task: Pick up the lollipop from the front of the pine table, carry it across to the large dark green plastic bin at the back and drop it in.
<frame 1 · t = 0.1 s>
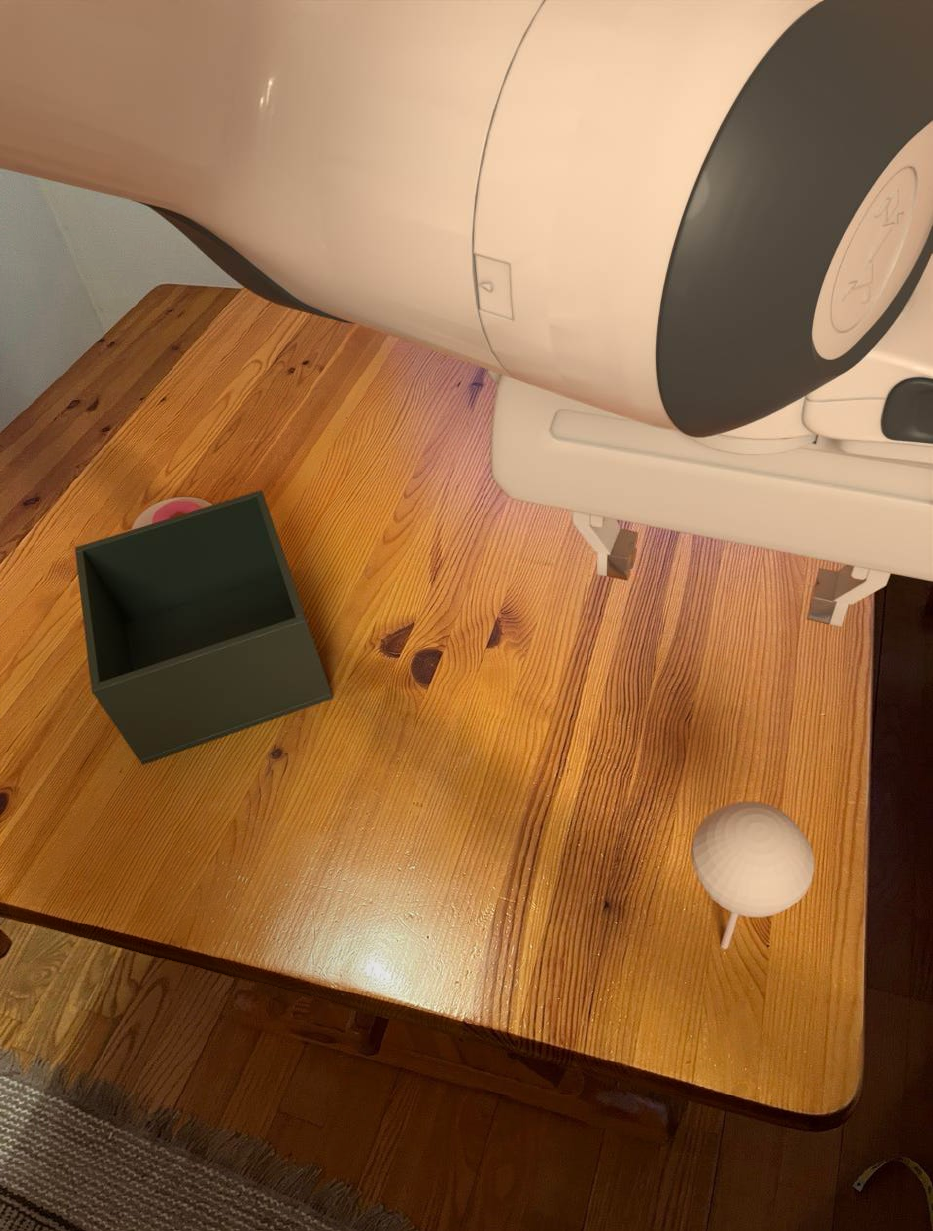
hand: (717, 590, 42), 26 cm above the table, tool pointing down, fingers open, 8 cm apart
bin: (221, 660, 77), on the table
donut: (165, 539, 87), on the table
lollipop: (724, 946, 58), on the table
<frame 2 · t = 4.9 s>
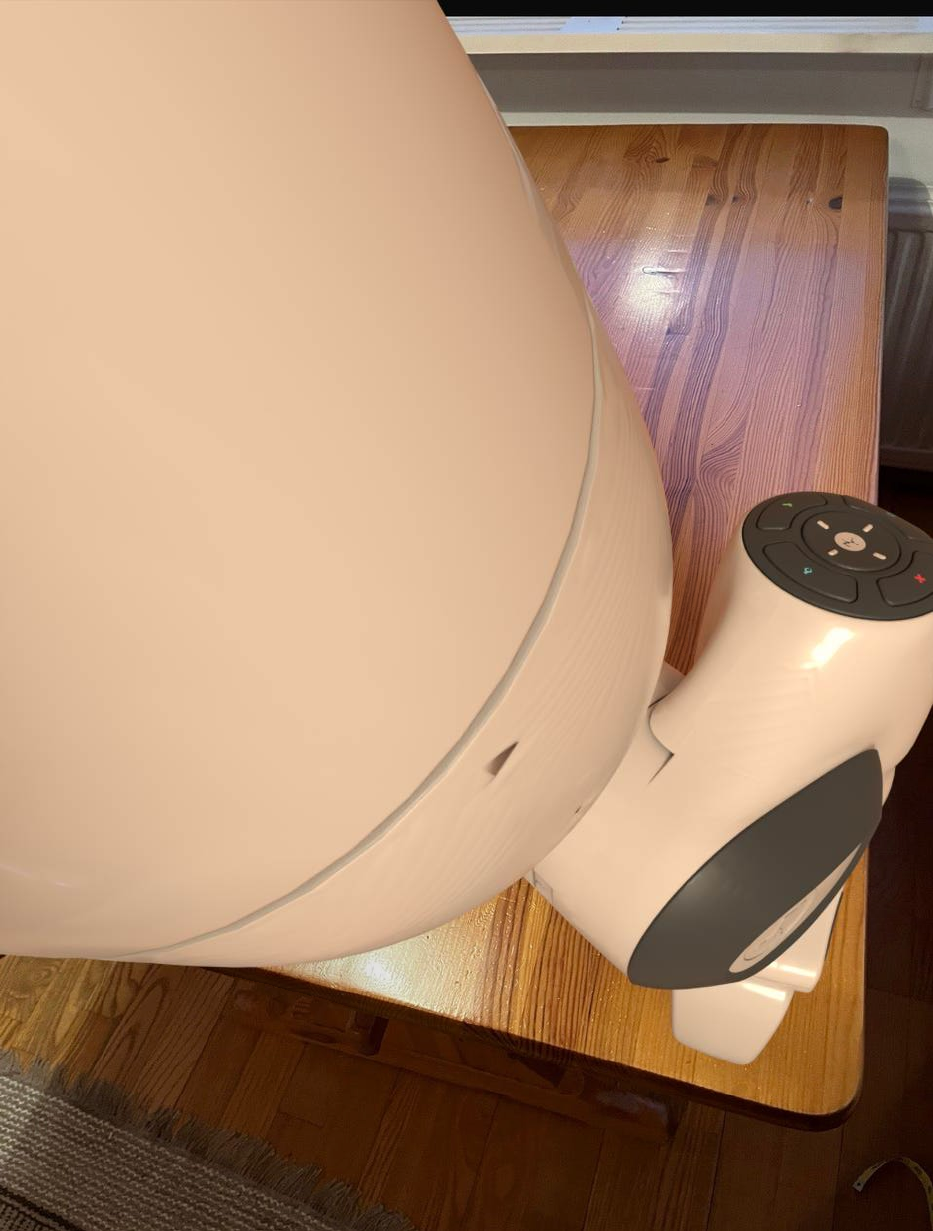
hand: (736, 906, 53), 6 cm above the table, tool pointing down, fingers closed on lollipop, 5 cm apart
lollipop: (724, 946, 58), on the table, touching gripper
everything else where it was.
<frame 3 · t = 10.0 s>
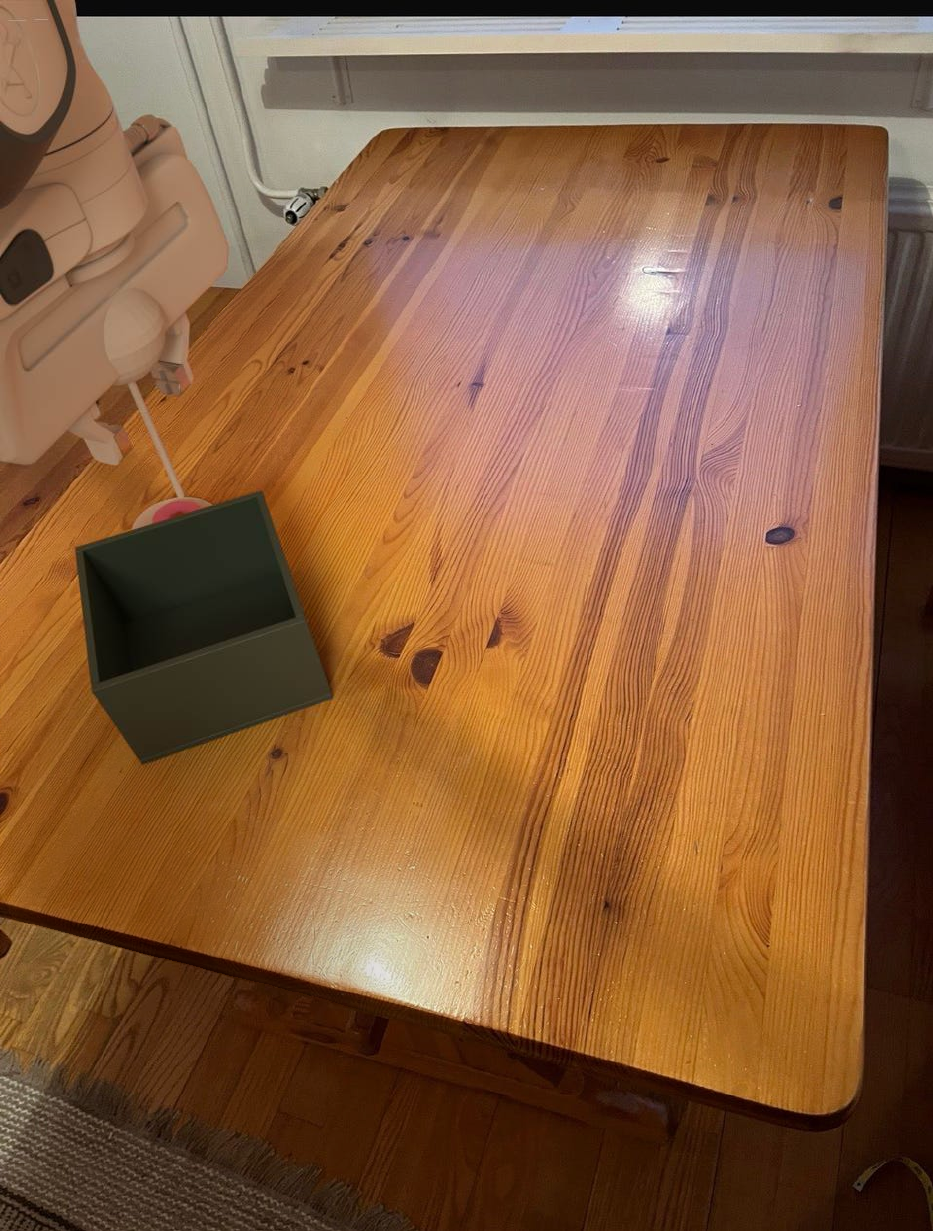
hand: (147, 421, 55), 26 cm above the table, tool pointing down, fingers closed on lollipop, 5 cm apart
lollipop: (182, 497, 60), point 20 cm above the table, touching gripper
everything else where it was.
when the fingers open (7 cm above the table, at t = 15.3 s): lollipop stays where it is, resting on bin.
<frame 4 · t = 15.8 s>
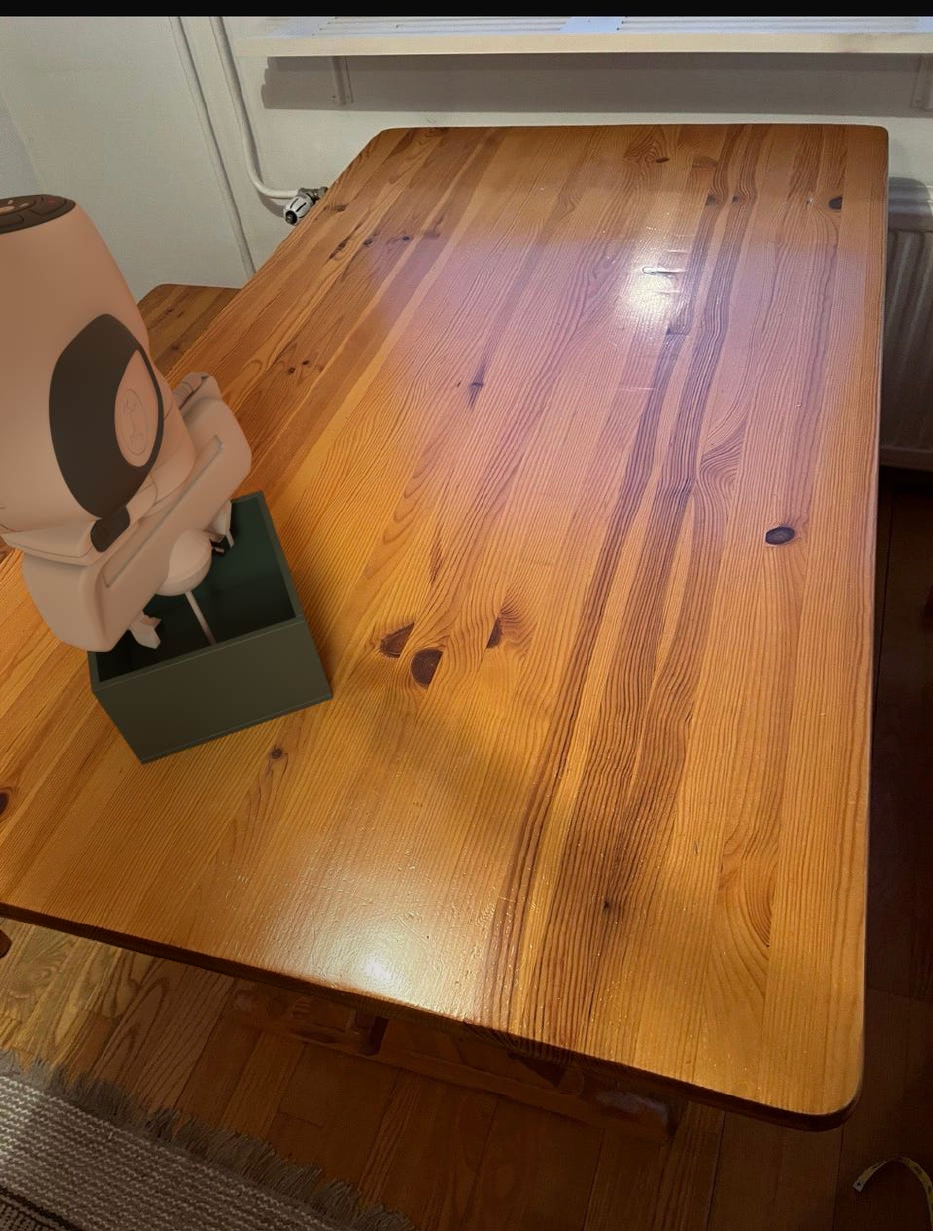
hand: (189, 593, 70), 8 cm above the table, tool pointing down, fingers open, 8 cm apart
lollipop: (221, 658, 76), resting on bin
everything else where it was.
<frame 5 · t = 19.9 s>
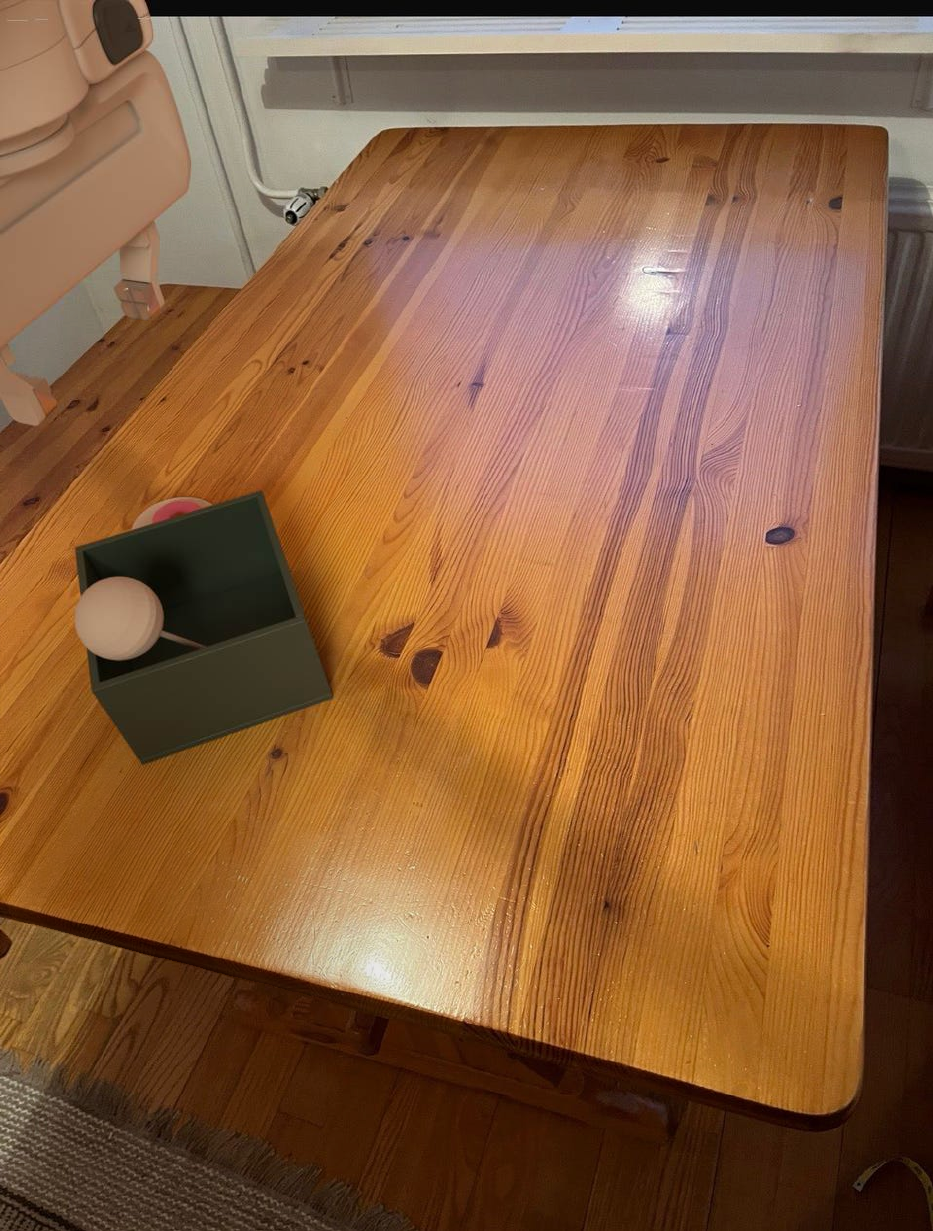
hand: (94, 361, 48), 33 cm above the table, tool pointing down, fingers open, 8 cm apart
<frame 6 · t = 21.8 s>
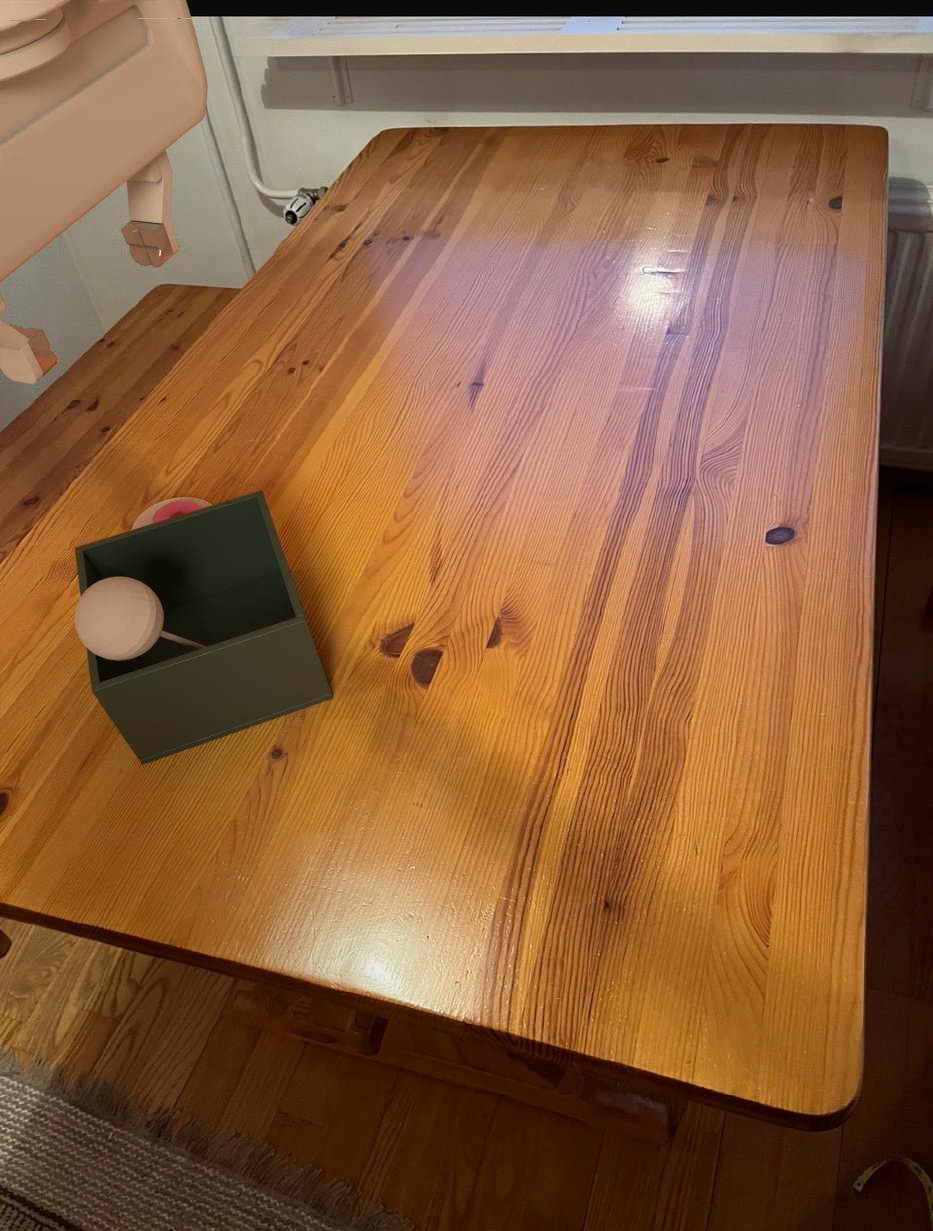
hand: (100, 312, 42), 37 cm above the table, tool pointing down, fingers open, 8 cm apart
at the end: lollipop inside the target area in the bin (0.2 cm from its centre), point 0.5 cm above the bin's base; the gripper is holding nothing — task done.
